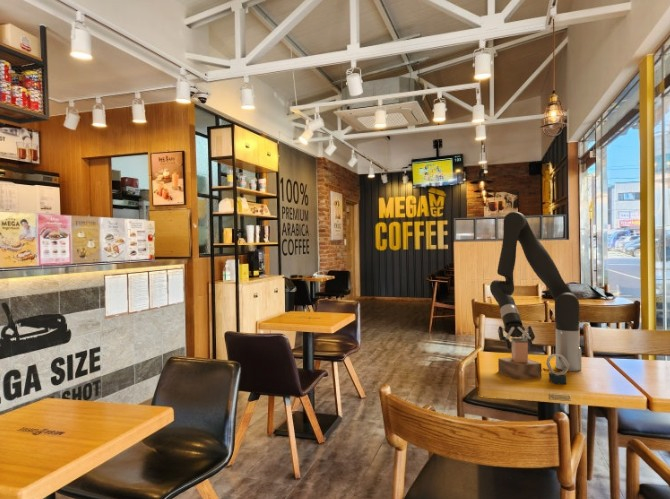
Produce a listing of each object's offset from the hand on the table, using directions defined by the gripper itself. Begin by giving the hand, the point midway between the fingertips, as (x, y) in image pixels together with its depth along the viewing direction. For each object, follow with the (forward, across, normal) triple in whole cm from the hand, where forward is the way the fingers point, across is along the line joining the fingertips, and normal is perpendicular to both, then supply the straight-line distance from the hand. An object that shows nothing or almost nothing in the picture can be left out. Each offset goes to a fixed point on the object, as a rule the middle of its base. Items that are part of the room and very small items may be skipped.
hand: (520, 348), depth 190 cm
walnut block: (+7, 0, +9) cm, 12 cm away
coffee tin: (+3, 0, +5) cm, 6 cm away
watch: (+15, +11, +1) cm, 19 cm away
